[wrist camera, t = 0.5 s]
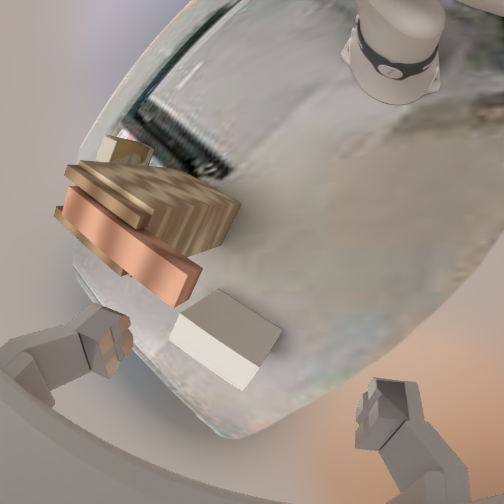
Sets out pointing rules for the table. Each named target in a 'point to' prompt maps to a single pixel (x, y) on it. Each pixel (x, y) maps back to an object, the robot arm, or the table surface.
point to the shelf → (225, 337)
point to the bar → (133, 248)
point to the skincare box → (123, 151)
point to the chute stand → (155, 205)
